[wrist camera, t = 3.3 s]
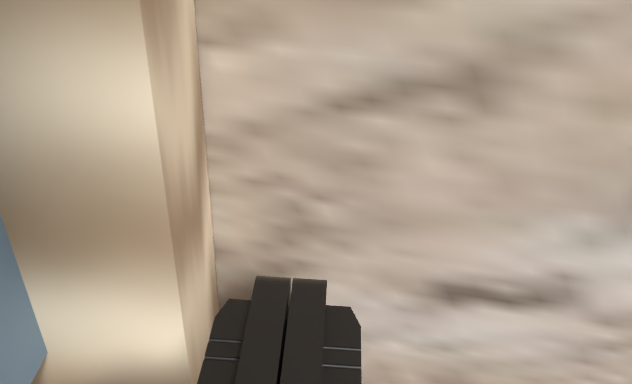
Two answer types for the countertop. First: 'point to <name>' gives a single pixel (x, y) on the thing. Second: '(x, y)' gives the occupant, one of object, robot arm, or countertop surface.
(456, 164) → the countertop surface
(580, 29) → the countertop surface
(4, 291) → the tile
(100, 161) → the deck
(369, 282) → the countertop surface
